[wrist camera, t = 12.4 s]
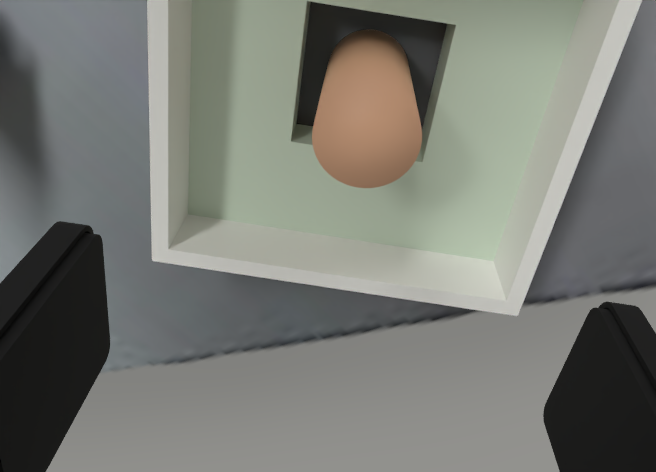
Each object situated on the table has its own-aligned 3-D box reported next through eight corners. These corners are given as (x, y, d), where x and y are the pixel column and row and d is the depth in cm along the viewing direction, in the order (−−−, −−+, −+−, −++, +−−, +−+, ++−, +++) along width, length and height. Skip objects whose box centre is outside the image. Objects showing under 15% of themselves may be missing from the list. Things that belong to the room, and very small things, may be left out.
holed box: (191, -178, 24) (143, -195, 19) (618, -108, 25) (683, -105, 20) (185, 203, 34) (151, 260, 28) (495, 250, 34) (517, 316, 29)
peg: (333, 23, 28) (319, 75, 20) (416, 36, 28) (433, 94, 20) (322, 103, 30) (305, 179, 22) (399, 115, 30) (409, 195, 22)
